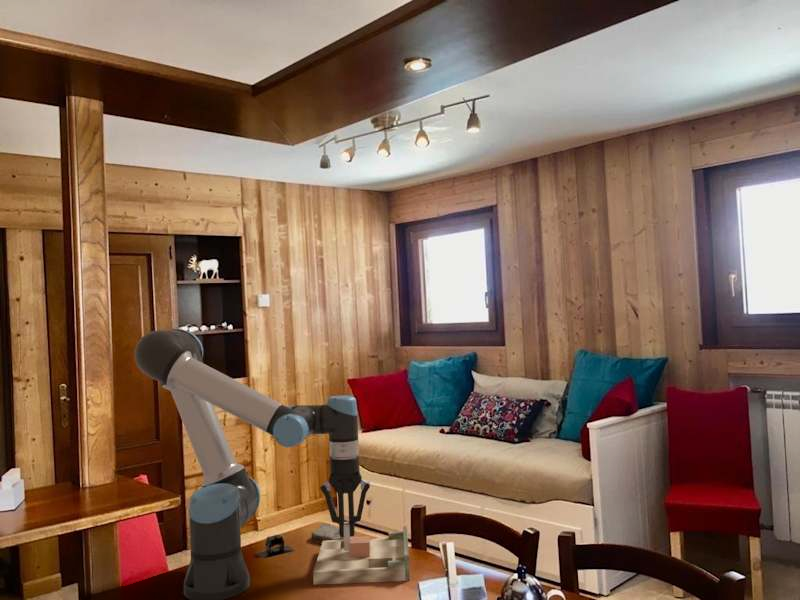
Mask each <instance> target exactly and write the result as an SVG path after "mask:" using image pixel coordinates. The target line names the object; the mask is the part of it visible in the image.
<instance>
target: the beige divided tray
mask: <svg viewBox="0 0 800 600" xmlns="http://www.w3.org/2000/svg"><path fill="white" fill-rule="evenodd" d="M320 545H321V544H320ZM318 552H319V553H318V556H317V558H316V562H315V566H314V568H313V572H312V573H313V575H312V576H313V578H312V579H313V580H312V581H313V586H314V585H335V584H338V585H340V584H357V583H358V584H359V583H360V584H361V583H362V584H363V583H379V582H380V583H381V582H382V583H384V582H409V581H408V580H411V579H410V554H409V552H410V551H409V539H408V527H407V526H406V525H404V526H402V531H393V532H392V531H389V532H388V537H380V538H377V537H376V538H370V557H350V551H344V540H327V541H323V542H322V545H321V546H320V549H319V551H318Z"/></svg>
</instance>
